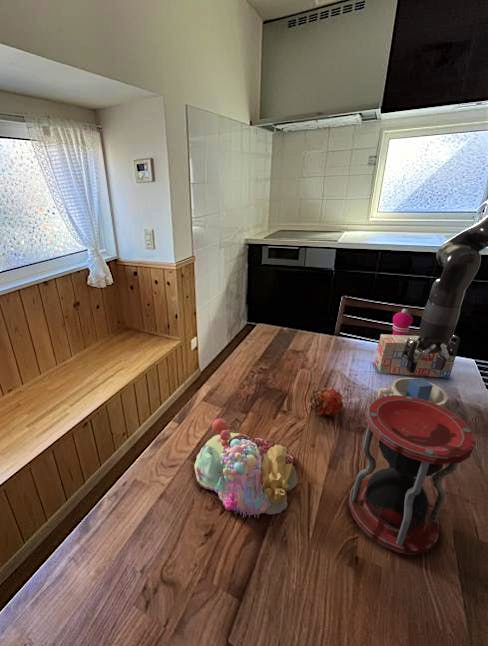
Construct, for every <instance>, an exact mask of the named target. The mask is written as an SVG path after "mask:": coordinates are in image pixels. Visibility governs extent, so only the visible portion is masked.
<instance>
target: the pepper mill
mask: <svg viewBox="0 0 488 646" xmlns="http://www.w3.org/2000/svg"><path fill="white" fill-rule="evenodd" d="M408 311H409V310H408V309H407V308H403V309H401V311H399V312H396V313H395V314H394V315H393V317H392V323H393V324H392V329H393V330H392V334H391V335H407V333H408V332H409V331H410V326H411V325H412V324H413V322H414V317H413V316H412V315H411V314H410V313H409V312H408Z"/></svg>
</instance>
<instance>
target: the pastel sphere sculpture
mask: <svg viewBox="0 0 488 646" xmlns="http://www.w3.org/2000/svg"><path fill="white" fill-rule="evenodd" d="M228 428H229V427H228V423H227V421H226V420H225V419H223V418H215V420H213V421H212V423H211V430H212V431H213V433H214V434H216V435H213V436H212V437H211V438H210V439H208V440H207V441H206V442H205V444H204V445H203V446H202V447H201V448H200V451H199V452H198V453H197V455H196V456H195V457H196V460H195V463H194V464H193V466H194V472H195V477H196V482H197V484H199V486H200V487H202V488H204V489H206V490H210V491H214V492H215V493H216V494H217V495H218V498H219V501H221V502H222V505H223V507H224V508H225V510H226V511H234V514H235V515H236V513H237V514H238V513H239V515H242V518H243V519H244V518H245V517H247V515H248V519H250V518H251V516H253V515H254V518H256V516H257V519H259V517H260V516H259V515H261V514H267V515H275V514H280V513H282V512H283V511H284V510H286V509H287V507H288V505H289V504H288V502H287V498H288V495H287V492H288V491H291V490H292V489H293V488H295V487H296V486H297V483H298V482H299V479H298V477H297V470H296V468H295V466H294V465H293V464H294V457H293V456H292V455H290V454H288V448H287V447H284V446H283V445H281V444H277V443H276V442H275V441H272V439H270V438H266V439H263V438H260V437H256V438H250V437H249V436H248V435H246V434H245V433H244V434H243V433H240V432H237V433H236V432H230V431H229V430H228Z"/></svg>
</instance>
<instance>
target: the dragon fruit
mask: <svg viewBox="0 0 488 646" xmlns="http://www.w3.org/2000/svg"><path fill="white" fill-rule="evenodd" d="M309 403H310V404H311V405H310V409H311V410H313V411H315V415H317V416H319V417H320V416H328V417H332V418H335V417H336V413H337V412H340V411H342V409H343V406H344V402H343V396H342V393H341V392H340V391H337V390H335V389H334V388H330V389H329V388H328V387H325V388H322V389H320V390H313V391H312V396H311V397H310V398H309Z"/></svg>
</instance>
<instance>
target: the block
mask: <svg viewBox="0 0 488 646" xmlns="http://www.w3.org/2000/svg"><path fill="white" fill-rule="evenodd" d="M415 378H416V379H410V382H409V385H408V389H407V393H406V396H410V397H415V398H419V399H424V400H426V401H428V400H429V397H430V394H431V390H432V387H433V385H432V384H430V383H431V382H430V381H428V380H426V379H425V378H424V377H415ZM429 382H430V383H429Z"/></svg>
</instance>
